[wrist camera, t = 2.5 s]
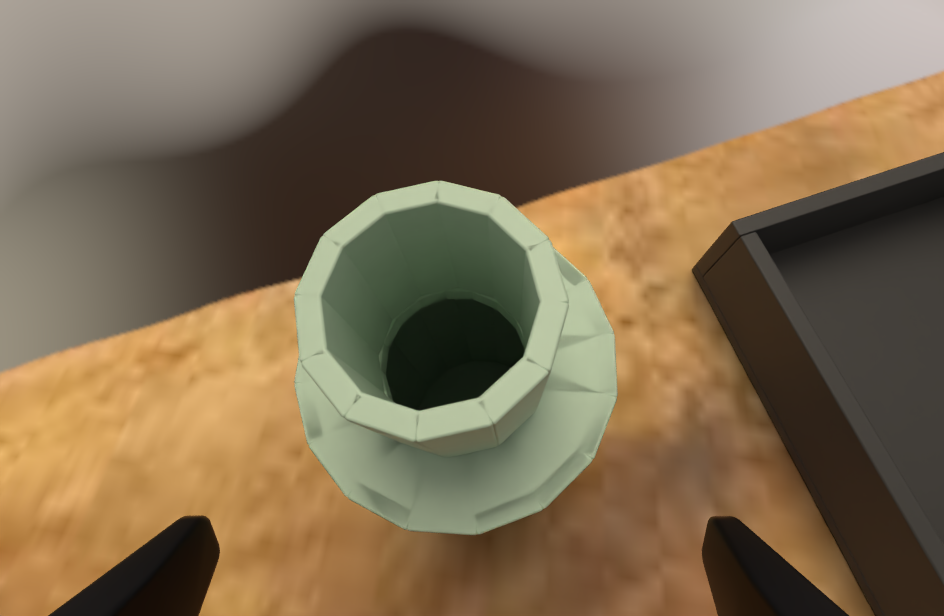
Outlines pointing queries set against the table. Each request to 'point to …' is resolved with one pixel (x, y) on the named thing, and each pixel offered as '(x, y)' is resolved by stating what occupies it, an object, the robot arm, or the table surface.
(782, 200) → the table surface
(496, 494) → the bottle
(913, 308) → the bin
